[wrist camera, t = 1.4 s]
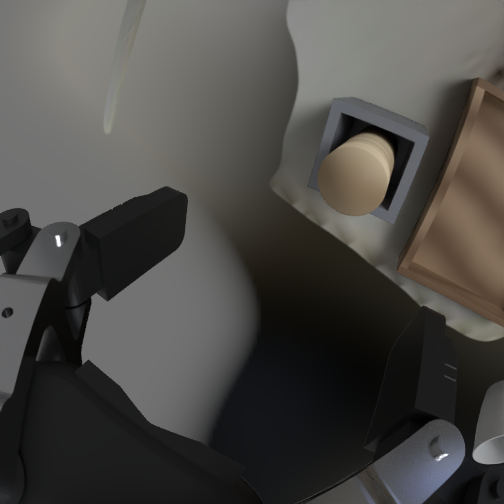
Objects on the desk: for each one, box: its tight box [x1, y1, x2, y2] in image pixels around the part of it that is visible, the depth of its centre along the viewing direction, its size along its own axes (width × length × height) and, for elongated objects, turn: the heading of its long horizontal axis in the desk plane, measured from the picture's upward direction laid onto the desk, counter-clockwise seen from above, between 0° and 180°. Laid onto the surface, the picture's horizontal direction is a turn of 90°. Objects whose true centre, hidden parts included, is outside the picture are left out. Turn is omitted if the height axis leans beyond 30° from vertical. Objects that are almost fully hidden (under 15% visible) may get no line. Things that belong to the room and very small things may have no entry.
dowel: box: [318, 125, 398, 216], centre depth 22 cm, size 4×4×13 cm
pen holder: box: [308, 97, 430, 224], centre depth 24 cm, size 7×7×8 cm
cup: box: [473, 381, 504, 464], centre depth 27 cm, size 8×8×10 cm
